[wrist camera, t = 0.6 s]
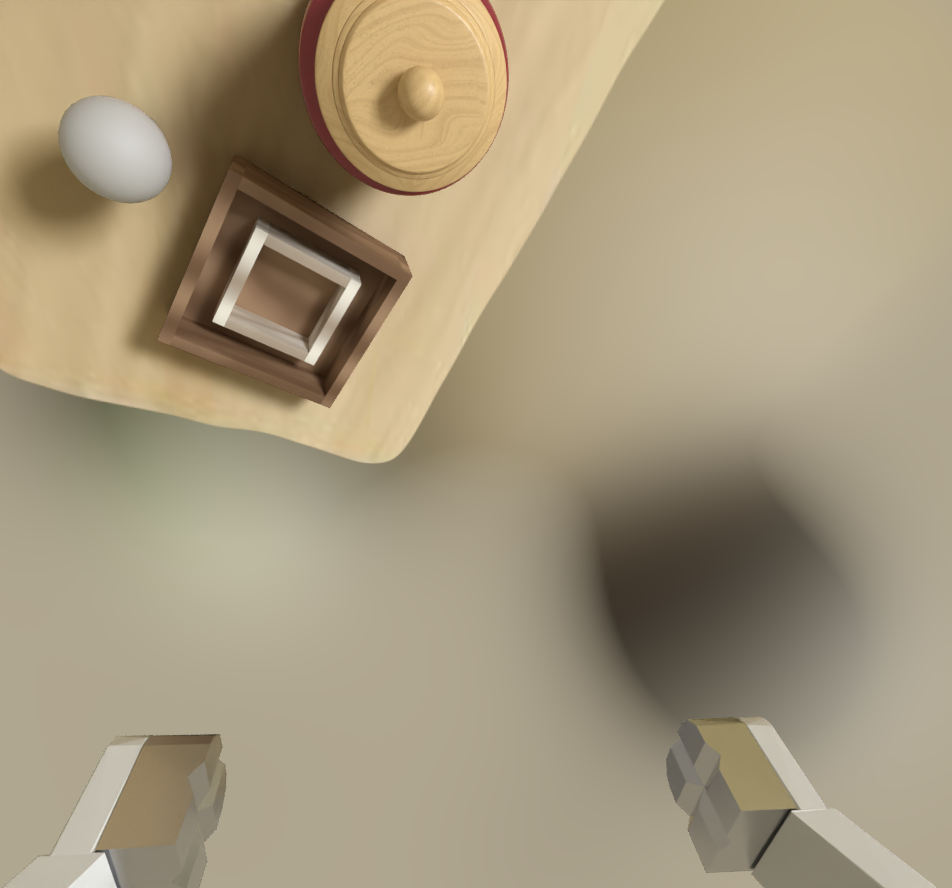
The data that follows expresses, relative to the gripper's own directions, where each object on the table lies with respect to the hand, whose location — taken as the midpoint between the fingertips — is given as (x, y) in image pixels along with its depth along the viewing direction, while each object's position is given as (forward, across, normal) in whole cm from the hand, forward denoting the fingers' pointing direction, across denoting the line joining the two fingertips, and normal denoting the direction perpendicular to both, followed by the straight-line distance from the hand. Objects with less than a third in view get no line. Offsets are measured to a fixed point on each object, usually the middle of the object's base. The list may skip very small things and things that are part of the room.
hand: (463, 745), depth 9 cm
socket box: (+47, +12, +2) cm, 49 cm away
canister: (+45, +4, -16) cm, 48 cm away
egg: (+44, +22, -10) cm, 50 cm away
